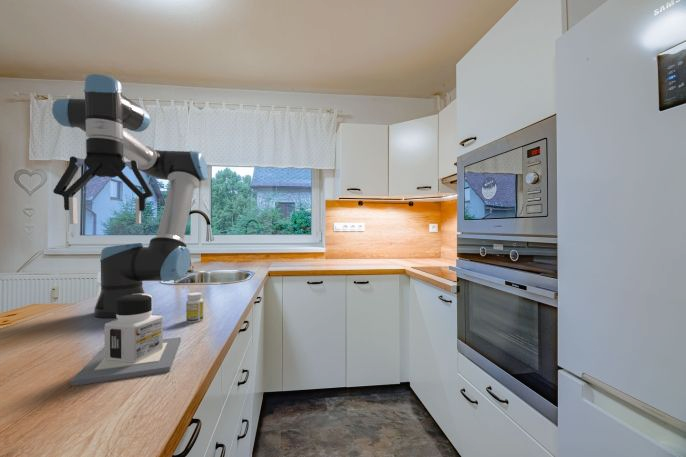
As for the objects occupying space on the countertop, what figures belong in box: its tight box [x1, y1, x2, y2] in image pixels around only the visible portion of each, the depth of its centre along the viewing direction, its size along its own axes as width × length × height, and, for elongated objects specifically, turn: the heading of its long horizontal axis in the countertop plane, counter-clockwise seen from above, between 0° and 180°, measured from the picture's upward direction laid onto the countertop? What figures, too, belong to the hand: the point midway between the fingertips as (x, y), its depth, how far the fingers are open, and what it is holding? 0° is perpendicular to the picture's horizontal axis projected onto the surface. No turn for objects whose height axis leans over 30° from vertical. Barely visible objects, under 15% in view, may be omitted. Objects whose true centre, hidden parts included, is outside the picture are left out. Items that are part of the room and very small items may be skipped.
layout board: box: [70, 336, 181, 387], centre depth 68 cm, size 18×16×1 cm
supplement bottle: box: [185, 291, 204, 324], centre depth 97 cm, size 5×5×8 cm
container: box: [104, 293, 164, 363], centre depth 68 cm, size 8×8×13 cm
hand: (107, 223), depth 80 cm, fingers open, 13 cm apart
